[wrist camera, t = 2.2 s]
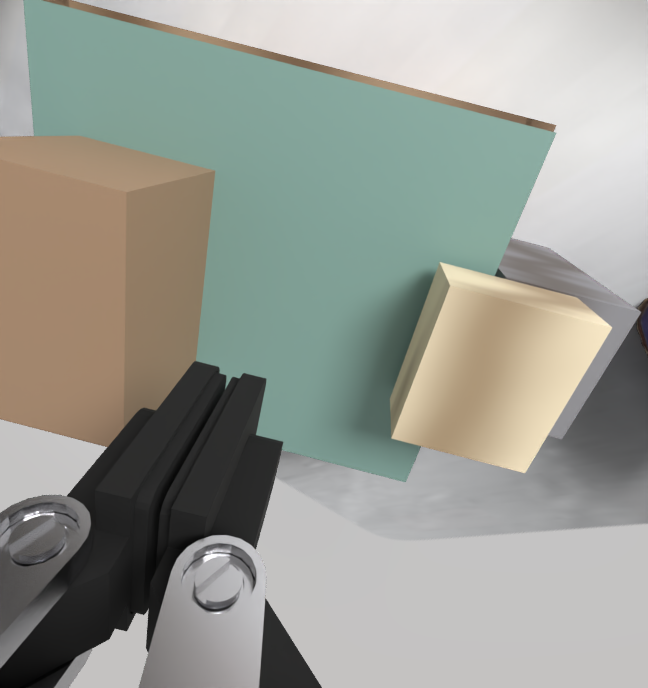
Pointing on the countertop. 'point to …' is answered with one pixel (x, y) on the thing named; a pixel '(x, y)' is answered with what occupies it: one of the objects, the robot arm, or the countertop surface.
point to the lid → (233, 233)
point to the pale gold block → (491, 367)
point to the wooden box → (520, 256)
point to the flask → (643, 324)
